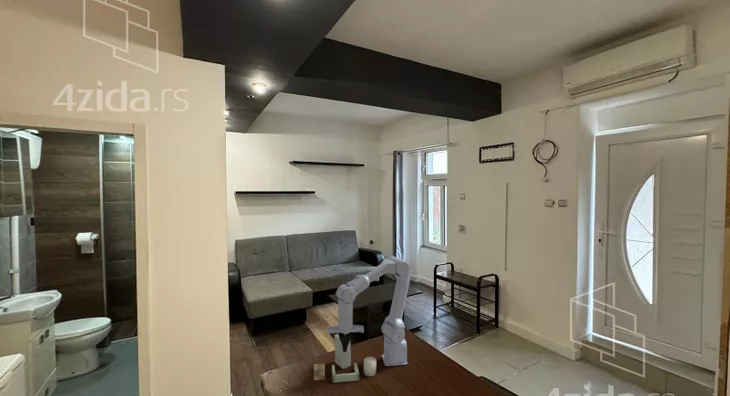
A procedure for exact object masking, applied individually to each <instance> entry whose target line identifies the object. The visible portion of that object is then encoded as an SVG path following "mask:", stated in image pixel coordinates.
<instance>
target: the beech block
mask: <svg viewBox="0 0 730 396" xmlns="http://www.w3.org/2000/svg"><path fill="white" fill-rule="evenodd" d="M313 365H314V366H313V380H314V381H320V380H321V381H322V380H325V377H326V375H325V374H326V373H325V371H326V367H325V366H326V365H325V363H316V364H313Z"/></svg>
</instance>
